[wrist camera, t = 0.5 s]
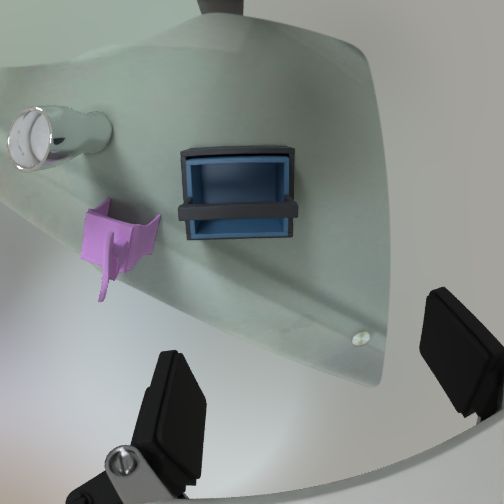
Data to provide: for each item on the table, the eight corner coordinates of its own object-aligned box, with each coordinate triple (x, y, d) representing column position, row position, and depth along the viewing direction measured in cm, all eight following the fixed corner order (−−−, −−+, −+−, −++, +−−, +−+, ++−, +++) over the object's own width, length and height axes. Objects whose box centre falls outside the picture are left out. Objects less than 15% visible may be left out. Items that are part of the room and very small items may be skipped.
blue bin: (196, 154, 36) (174, 166, 23) (279, 152, 36) (299, 163, 24) (200, 217, 39) (182, 258, 27) (278, 215, 39) (296, 255, 27)
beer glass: (116, 153, 35) (55, 169, 21) (75, 159, 35) (8, 179, 21) (114, 104, 33) (52, 96, 19) (73, 113, 32) (4, 114, 19)
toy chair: (106, 190, 37) (48, 223, 23) (162, 207, 39) (123, 249, 25) (98, 242, 40) (46, 292, 26) (150, 260, 42) (114, 319, 28)
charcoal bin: (190, 148, 36) (180, 151, 30) (285, 145, 36) (294, 148, 30) (195, 223, 40) (186, 240, 34) (284, 220, 40) (292, 237, 34)
